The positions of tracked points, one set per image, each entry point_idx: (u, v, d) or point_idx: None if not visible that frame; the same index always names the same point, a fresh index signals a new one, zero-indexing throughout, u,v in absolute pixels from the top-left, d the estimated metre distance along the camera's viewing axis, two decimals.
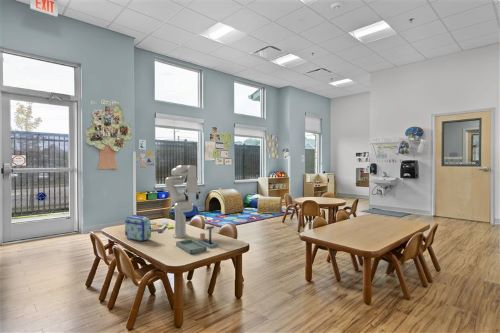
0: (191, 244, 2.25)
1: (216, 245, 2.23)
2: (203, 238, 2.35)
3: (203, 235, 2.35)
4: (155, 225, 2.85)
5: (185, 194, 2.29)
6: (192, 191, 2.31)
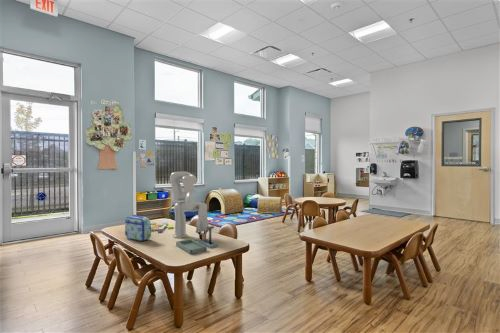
0: (191, 244, 2.25)
1: (216, 245, 2.23)
2: (203, 238, 2.35)
3: (203, 235, 2.35)
4: (155, 225, 2.85)
5: (199, 233, 2.33)
6: (203, 229, 2.34)
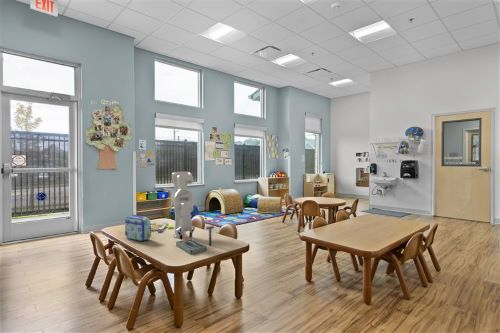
0: None
1: None
2: (186, 240, 2.25)
3: (186, 237, 2.25)
4: (155, 225, 2.85)
5: (179, 233, 2.21)
6: (186, 229, 2.23)
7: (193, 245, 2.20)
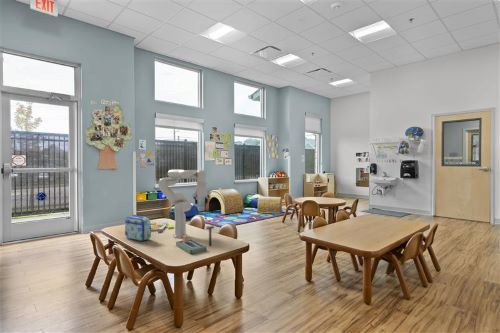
0: None
1: None
2: (186, 240, 2.25)
3: (186, 237, 2.25)
4: (155, 225, 2.85)
5: (195, 198, 2.37)
6: (201, 195, 2.39)
7: (193, 245, 2.20)
